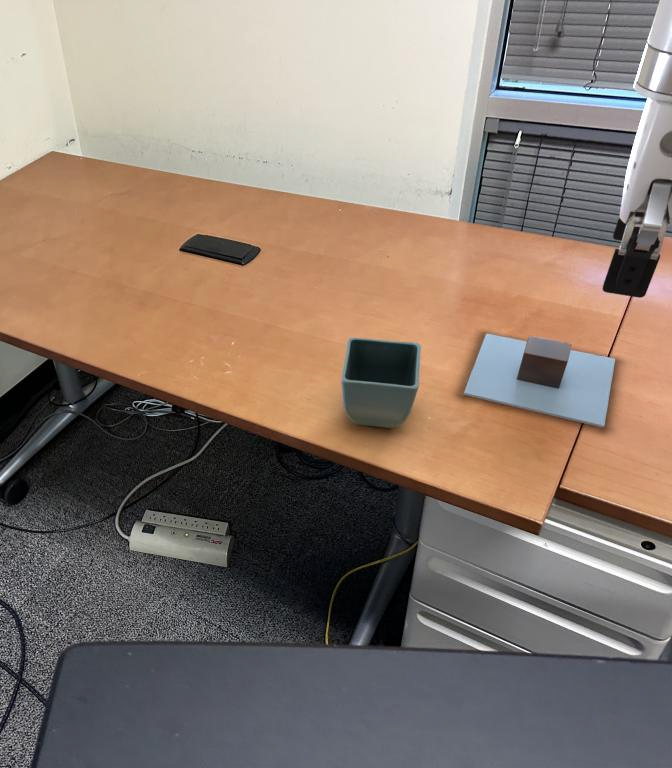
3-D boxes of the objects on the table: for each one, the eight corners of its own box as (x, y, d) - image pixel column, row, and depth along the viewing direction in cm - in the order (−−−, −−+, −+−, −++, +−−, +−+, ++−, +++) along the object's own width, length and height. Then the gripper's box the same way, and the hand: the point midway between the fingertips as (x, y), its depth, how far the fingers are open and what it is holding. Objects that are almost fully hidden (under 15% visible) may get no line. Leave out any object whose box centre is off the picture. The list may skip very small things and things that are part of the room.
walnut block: (563, 370, 90) (572, 343, 87) (558, 389, 88) (567, 361, 85) (521, 362, 93) (529, 335, 90) (516, 379, 90) (523, 352, 87)
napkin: (614, 360, 91) (615, 358, 91) (603, 428, 82) (604, 425, 82) (485, 335, 98) (486, 333, 98) (463, 394, 90) (463, 392, 90)
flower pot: (410, 442, 85) (419, 387, 79) (337, 434, 87) (340, 380, 81) (413, 396, 91) (421, 342, 85) (344, 389, 93) (348, 336, 88)
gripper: (765, 112, 45) (672, 326, 56) (755, 36, 55) (679, 228, 66) (630, 105, 48) (568, 308, 59) (646, 35, 59) (591, 217, 70)
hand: (627, 265), depth 63 cm, fingers open, 9 cm apart
